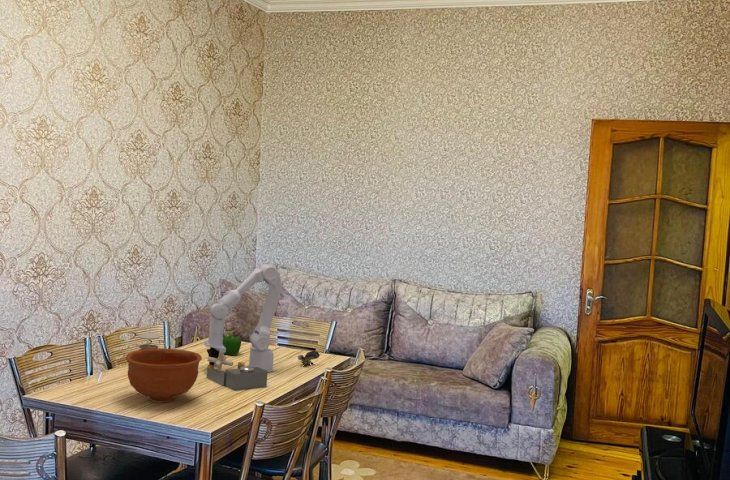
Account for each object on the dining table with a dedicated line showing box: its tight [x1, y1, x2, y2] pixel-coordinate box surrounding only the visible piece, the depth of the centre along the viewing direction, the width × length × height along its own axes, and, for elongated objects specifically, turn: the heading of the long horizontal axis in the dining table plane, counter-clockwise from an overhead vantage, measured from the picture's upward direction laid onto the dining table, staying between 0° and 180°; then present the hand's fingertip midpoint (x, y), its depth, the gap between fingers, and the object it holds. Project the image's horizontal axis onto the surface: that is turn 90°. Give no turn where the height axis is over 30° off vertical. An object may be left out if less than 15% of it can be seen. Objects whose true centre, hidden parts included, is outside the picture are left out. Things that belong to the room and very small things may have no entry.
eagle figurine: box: [297, 350, 321, 366], centre depth 310 cm, size 8×7×9 cm
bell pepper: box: [222, 331, 242, 356], centre depth 320 cm, size 8×8×10 cm
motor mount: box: [206, 361, 269, 391], centre depth 272 cm, size 15×20×7 cm
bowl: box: [125, 347, 203, 403], centre depth 242 cm, size 25×25×15 cm
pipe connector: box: [207, 350, 234, 372], centre depth 282 cm, size 10×10×10 cm
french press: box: [138, 307, 168, 350], centre depth 278 cm, size 10×12×25 cm
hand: (212, 366), depth 286 cm, fingers closed, pressing on pipe connector
